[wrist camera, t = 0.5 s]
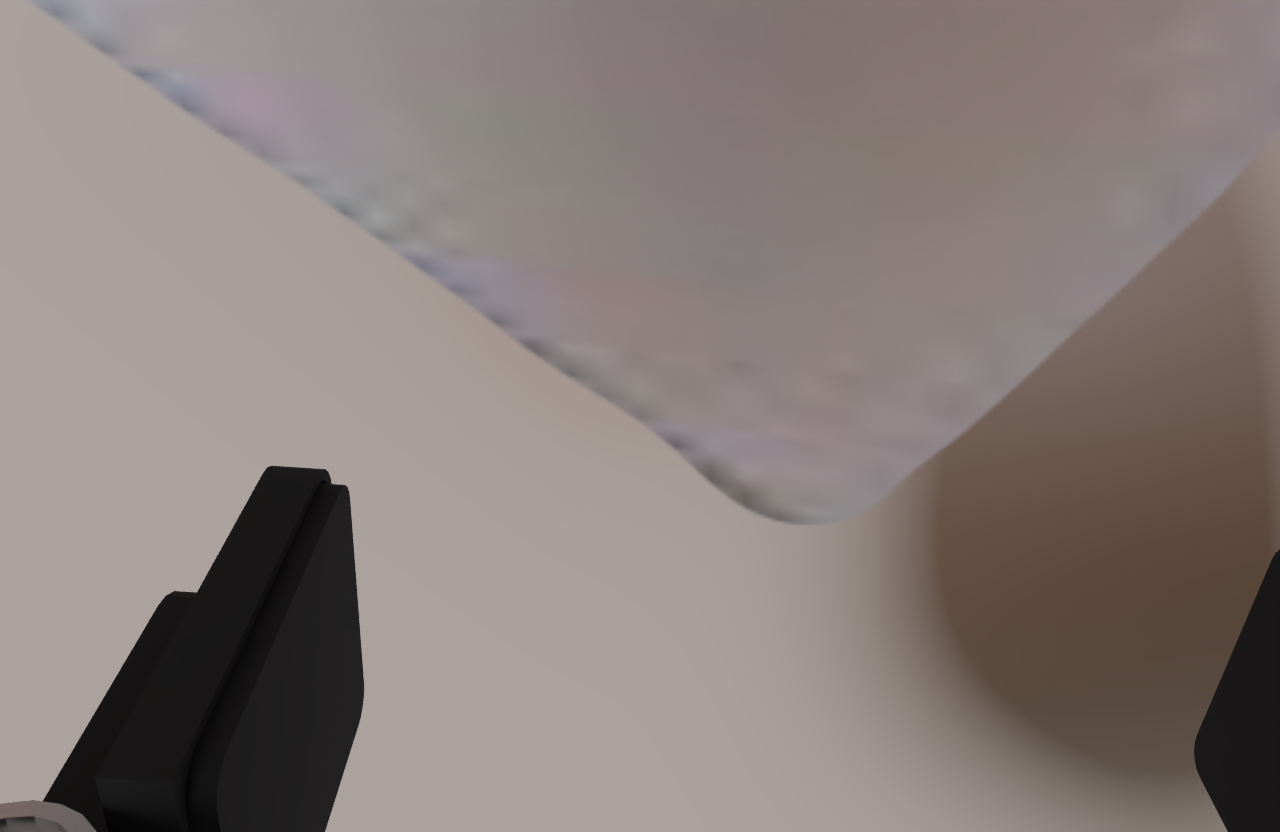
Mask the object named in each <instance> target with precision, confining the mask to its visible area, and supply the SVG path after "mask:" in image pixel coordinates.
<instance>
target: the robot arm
mask: <svg viewBox="0 0 1280 832" xmlns="http://www.w3.org/2000/svg"><path fill="white" fill-rule="evenodd" d="M363 699H364V678H363V665H362V653H361V639H360V626H359V612H358V599H357V585H356V572H355V560H354V546H353V533H352V519H351V506H350V495H349V491H348V487H347V486H345V485H334V484H331V478H330V475H329V473H328V471H327V470H325V469H312V468H297V467H280V466H270V467H267V469H266V470H265V471H264V473H263V474H262V476H261V478H260V480H259V482H258V483H257V485H256V487H255V489H254V491H253V492H252V494H251V496H250V498H249V500H248V502H247V503H246V505H245V507H244V509H243V510H242V512H241V514H240V516H239V518H238V519H237V522H236V523H235V525H234V527H233V529H232V530H231V532H230V534H229V536H228V538H227V539H226V541H225V543H224V545H223V547H222V548H221V551H220V552H219V554H218V556H217V558H216V559H215V561H214V563H213V565H212V567H211V569H210V570H209V572H208V574H207V576H206V577H205V579H204V581H203V583H202V585H201V586H200V588H199V590H198V592H197V593H194V592H179V591H174V592H172V593H170V594H168V595H167V596H165V598H164V599H163V600H162V602H161V603H160V604H159V605H158V607H157V608H156V611H155V612H154V614H153V615H152V617H151V619H150V620H149V622H148V624H147V626H146V627H145V629H144V631H143V632H142V634H141V636H140V637H139V639H138V641H137V642H136V644H135V646H134V648H133V649H132V651H131V653H130V654H129V656H128V658H127V659H126V661H125V663H124V664H123V666H122V668H121V670H120V671H119V673H118V675H117V676H116V678H115V680H114V681H113V683H112V685H111V687H110V688H109V690H108V692H107V693H106V695H105V697H104V698H103V700H102V702H101V704H100V705H99V707H98V709H97V710H96V712H95V714H94V715H93V717H92V719H91V720H90V722H89V724H88V725H87V727H86V729H85V731H84V732H83V734H82V736H81V737H80V739H79V741H78V742H77V744H76V746H75V748H74V749H73V751H72V753H71V754H70V756H69V758H68V759H67V761H66V763H65V764H64V766H63V768H62V770H61V771H60V773H59V775H58V776H57V778H56V780H55V781H54V783H53V785H52V787H51V788H50V790H49V792H48V793H47V795H46V797H45V798H44V800H43V802H42V801H34V800H32V801H22V802H13V803H4V804H0V832H325V830H326V827H327V823H328V820H329V817H330V814H331V811H332V807H333V804H334V801H335V798H336V795H337V792H338V788H339V785H340V782H341V779H342V776H343V772H344V769H345V766H346V763H347V760H348V757H349V754H350V750H351V747H352V744H353V741H354V738H355V735H356V731H357V728H358V725H359V721H360V718H361V713H362V707H363ZM1194 754H1195V755H1194V756H1195V763H1196V768H1197V771H1198V774H1199V776H1200V778H1201V780H1202V782H1203V784H1204V786H1205V788H1206V790H1207V792H1208V794H1209V796H1210V798H1211V799H1212V801H1213V804H1214V805H1215V807H1216V809H1217V811H1218V813H1219V815H1220V817H1221V819H1222V821H1223V823H1224V825H1225V827H1226V829H1227V831H1228V832H1280V550H1279V551H1278V552H1276V554H1275V555H1274V557H1273V559H1272V561H1271V563H1270V565H1269V568H1268V570H1267V572H1266V575H1265V577H1264V580H1263V582H1262V585H1261V586H1260V589H1259V591H1258V594H1257V596H1256V598H1255V601H1254V603H1253V605H1252V608H1251V610H1250V612H1249V615H1248V617H1247V619H1246V622H1245V624H1244V626H1243V629H1242V631H1241V633H1240V636H1239V638H1238V640H1237V643H1236V645H1235V647H1234V650H1233V652H1232V654H1231V657H1230V659H1229V662H1228V664H1227V666H1226V669H1225V671H1224V673H1223V676H1222V678H1221V680H1220V683H1219V685H1218V687H1217V690H1216V692H1215V694H1214V697H1213V699H1212V701H1211V704H1210V706H1209V708H1208V711H1207V713H1206V716H1205V718H1204V720H1203V722H1202V725H1201V727H1200V730H1199V732H1198V734H1197V737H1196V741H1195V748H1194Z"/></svg>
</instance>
